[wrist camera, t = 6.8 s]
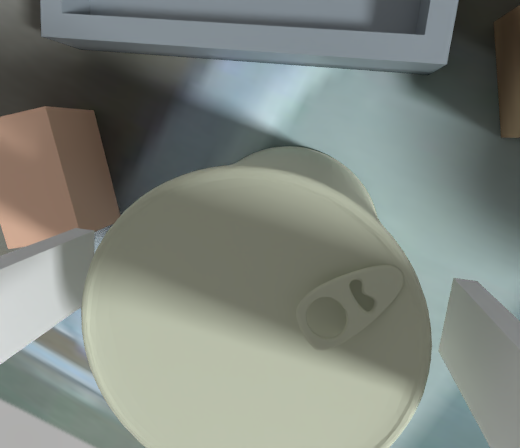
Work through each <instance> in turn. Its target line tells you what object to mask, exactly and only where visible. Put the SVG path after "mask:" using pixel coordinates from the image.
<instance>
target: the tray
mask: <svg viewBox="0 0 520 448" xmlns="http://www.w3.org/2000/svg"><path fill="white" fill-rule="evenodd" d="M458 1H459V0H40V7H41V37H44V38H47V39H50V40H54V41H57V42H60V43H63V44H66V45H69V46H72V47H75V48H78V49H81V50H95V51H109V52H123V53H136V54H150V55H164V56H178V57H191V58H205V59H219V60H233V61H246V62H260V63H274V64H288V65H302V66H315V67H329V68H343V69H357V70H370V71H384V72H398V73H412V74H425V75H429V74H431V73H433V72H434V71H436V70H438V69H440V68H441V67H443V66H445V65H447V61H448V55H449V50H450V44H451V39H452V34H453V28H454V23H455V17H456V12H457V6H458Z"/></svg>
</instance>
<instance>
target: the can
mask: <svg viewBox="0 0 520 448" xmlns="http://www.w3.org/2000/svg"><path fill="white" fill-rule="evenodd" d="M81 316H82V334H83V340H84V346H85V351H86V355H87V359H88V362H89V365H90V368H91V371H92V373H93V376H94V378H95V381H96V383H97V385H98V388H99V389H100V391H101V393H102V395H103V397H104V399H105V400H106V402H107V404H108V405H109V407H110V408H111V410H112V411H113V412H114V414H115V415H116V416H117V418H118V419H119V420H120V422H121V423H122V424H123V425H124V426H125V428H126V429H127V430H128V431H129V432H130V433H131V434H132V435H133V436H134V437H135V438H136V439H137V440H138V441H139V442H140V443H141V444H142V445H144V446H145V447H146V448H389V447H390V446H391V445H392V444H393V443H394V442H395V440H396V439H397V438H398V437H399V436H400V435H401V433H402V432H403V430H404V429H405V427H406V426H407V424H408V423H409V421H410V420H411V418H412V416H413V415H414V413H415V411H416V409H417V407H418V405H419V403H420V400H421V398H422V396H423V393H424V389H425V385H426V382H427V378H428V374H429V368H430V361H431V350H432V340H431V326H430V319H429V312H428V308H427V304H426V300H425V297H424V294H423V291H422V288H421V286H420V283H419V280H418V277H417V275H416V273H415V271H414V269H413V267H412V265H411V263H410V261H409V260H408V258H407V257H406V255H405V253H404V252H403V250H402V249H401V247H400V246H399V245H398V243H397V242H396V241H395V239H394V238H393V237H392V235H391V234H390V233H389V232H388V231H387V230H386V229H385V228H384V226H383V225H382V224H381V223H380V221H379V219H378V217H377V214H376V210H375V207H374V204H373V202H372V200H371V198H370V195H369V194H368V192H367V190H366V189H365V187H364V185H363V184H362V183H361V182H360V180H359V179H358V178H357V177H356V176H355V175H354V174H353V173H352V172H351V171H350V170H349V169H348V168H347V167H346V166H344V165H343V164H342V163H340V162H339V161H337V160H336V159H334V158H332V157H330V156H328V155H326V154H324V153H321V152H319V151H315V150H312V149H308V148H303V147H293V146H283V147H273V148H268V149H264V150H261V151H258V152H255V153H253V154H251V155H248V156H246V157H245V158H243V159H241V160H240V161H238V162H237V163H234V164H231V165H225V166H217V167H210V168H205V169H201V170H196V171H193V172H190V173H187V174H184V175H181V176H179V177H176V178H174V179H171V180H169V181H167V182H165V183H163V184H161V185H159V186H157V187H155V188H154V189H152V190H151V191H149V192H148V193H146V194H145V195H143V196H142V197H140V198H139V199H138V200H137V201H135V202H134V203H133V204H132V205H131V206H130V207H128V208H127V209H126V210H125V211H124V212H123V213H122V215H121V216H120V217H119V218H118V219H117V220H116V221H115V223H114V224H113V225H112V226H111V228H110V229H109V230H108V231H107V233H106V234H105V236H104V238H103V240H102V241H101V243H100V245H99V246H98V248H97V250H96V252H95V254H94V257H93V259H92V262H91V264H90V267H89V270H88V273H87V277H86V280H85V285H84V290H83V297H82V307H81Z"/></svg>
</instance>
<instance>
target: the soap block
mask: <svg viewBox="0 0 520 448" xmlns="http://www.w3.org/2000/svg"><path fill="white" fill-rule="evenodd" d="M119 217H120V212H119V208H118V204H117V200H116V196H115V192H114V188H113V184H112V180H111V176H110V172H109V168H108V164H107V160H106V157H105V153H104V149H103V145H102V141H101V137H100V133H99V129H98V125H97V121H96V117H95V113H94V110H83V109H72V108H60V107H49V106H44V107H40V108H35V109H31V110H27V111H22V112H18V113H14V114H10V115H5V116H1V117H0V224H1V227H2V231H3V234H4V237H5V240H6V244H7V247H8V249H12V248H19V247H25V246H29V245H31V244H34V243H37V242H39V241H42V240H45V239H48V238H50V237H53V236H56V235H58V234H61V233H64V232H66V231H69V230H72V229H74V228H80V229H87V230H94V232H95V231H98V230H100V229H102V228H105V227H107V226H109V225H112V224H114V223H115V221H116V220H117V219H118V218H119Z"/></svg>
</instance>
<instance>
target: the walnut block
mask: <svg viewBox="0 0 520 448" xmlns="http://www.w3.org/2000/svg"><path fill="white" fill-rule="evenodd" d="M494 34H495V50H496V66H497V82H498V98H499V114H500V129H501V137H502V138H520V5H519V6H517V7H516V8H514V9H513V10H511V11H510V12H508V13H507V14H505V15H504V16H502V17H501V18H499V19H498V20H496V21H495V22H494Z"/></svg>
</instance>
